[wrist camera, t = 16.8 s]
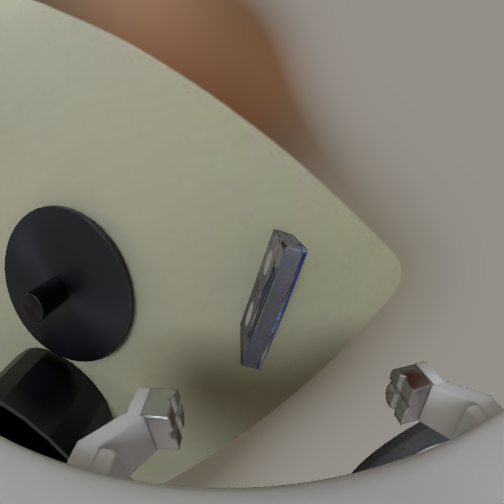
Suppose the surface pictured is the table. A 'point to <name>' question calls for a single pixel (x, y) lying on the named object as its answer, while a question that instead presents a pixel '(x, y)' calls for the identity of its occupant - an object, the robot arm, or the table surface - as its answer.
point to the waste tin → (48, 404)
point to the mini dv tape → (270, 296)
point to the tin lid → (68, 283)
